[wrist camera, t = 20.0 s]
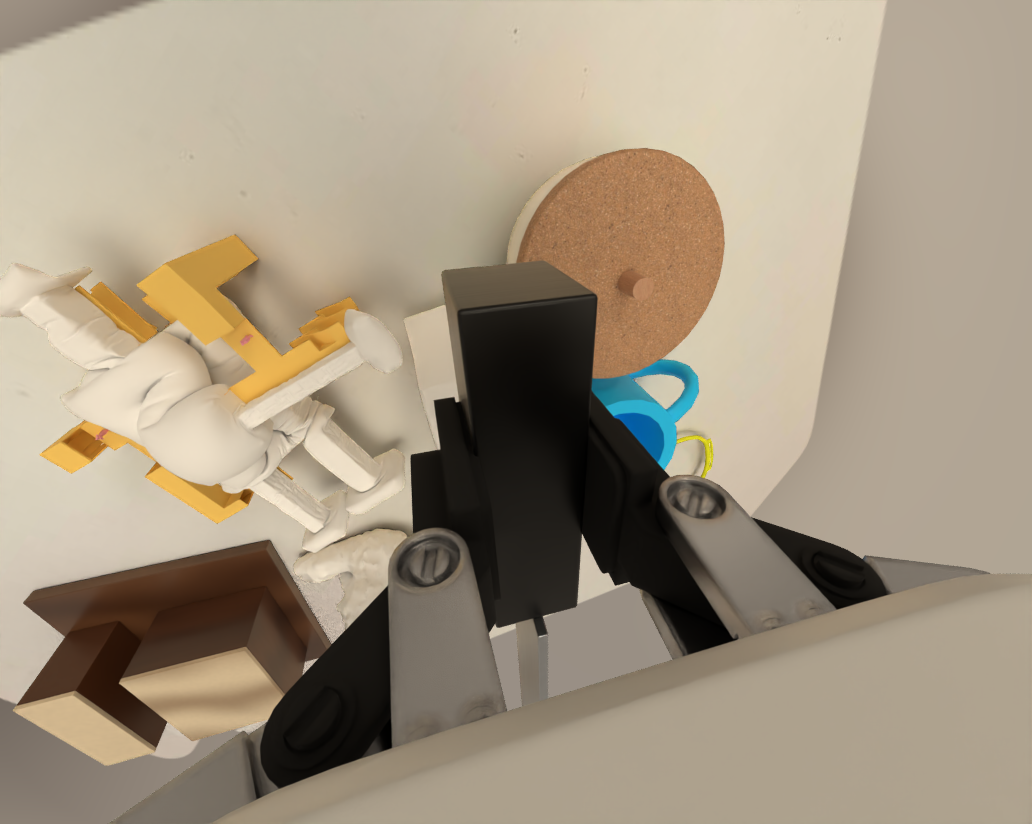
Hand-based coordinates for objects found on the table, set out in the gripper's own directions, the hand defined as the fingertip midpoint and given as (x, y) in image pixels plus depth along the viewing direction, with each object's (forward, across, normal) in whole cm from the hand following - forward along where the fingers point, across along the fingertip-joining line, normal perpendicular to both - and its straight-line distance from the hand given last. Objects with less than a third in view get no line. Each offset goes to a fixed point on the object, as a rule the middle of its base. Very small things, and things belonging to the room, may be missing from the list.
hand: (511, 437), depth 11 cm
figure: (+17, +12, +5) cm, 22 cm away
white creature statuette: (+17, +10, +22) cm, 30 cm away
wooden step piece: (+16, +30, +28) cm, 44 cm away
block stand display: (+17, +24, +26) cm, 40 cm away
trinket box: (+17, -8, -1) cm, 19 cm away
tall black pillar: (+1, 0, +7) cm, 7 cm away
